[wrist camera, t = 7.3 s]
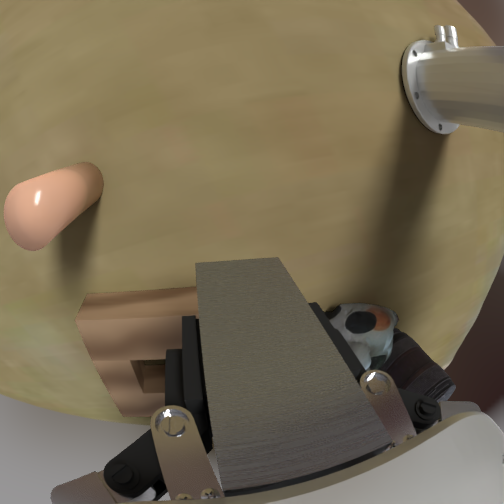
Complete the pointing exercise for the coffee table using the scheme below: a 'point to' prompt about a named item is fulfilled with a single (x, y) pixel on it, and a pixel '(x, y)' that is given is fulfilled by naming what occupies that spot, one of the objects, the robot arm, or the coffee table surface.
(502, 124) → the robot arm
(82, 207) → the round bit
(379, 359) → the lucky cat figurine
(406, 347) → the camera lens
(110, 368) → the bore block
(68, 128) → the coffee table surface
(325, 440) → the square bit
